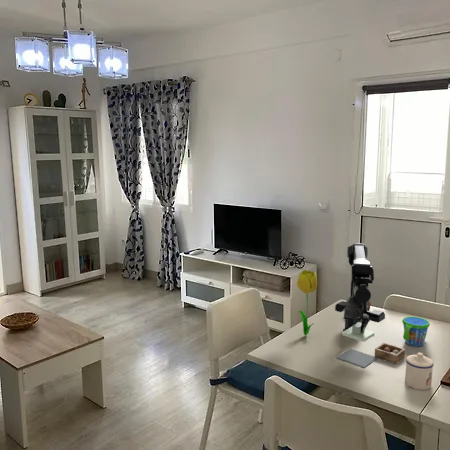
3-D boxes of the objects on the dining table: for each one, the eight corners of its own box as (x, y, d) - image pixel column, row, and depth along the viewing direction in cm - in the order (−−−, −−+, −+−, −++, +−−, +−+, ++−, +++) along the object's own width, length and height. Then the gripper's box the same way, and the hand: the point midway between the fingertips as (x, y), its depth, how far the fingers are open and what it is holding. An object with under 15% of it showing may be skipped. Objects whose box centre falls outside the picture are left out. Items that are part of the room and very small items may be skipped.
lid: (342, 335, 183) (342, 324, 182) (352, 328, 189) (353, 318, 188) (364, 341, 177) (364, 331, 176) (374, 335, 183) (374, 324, 182)
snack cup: (414, 334, 207) (416, 313, 205) (436, 343, 198) (438, 320, 196) (392, 343, 198) (393, 320, 197) (414, 352, 190) (415, 328, 188)
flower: (317, 334, 207) (320, 270, 202) (312, 341, 200) (314, 274, 195) (299, 331, 211) (301, 267, 206) (293, 337, 204) (295, 272, 199)
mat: (336, 358, 185) (336, 357, 185) (350, 349, 192) (350, 348, 192) (364, 367, 176) (364, 367, 176) (377, 358, 184) (377, 357, 184)
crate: (374, 356, 186) (374, 348, 185) (383, 350, 191) (383, 342, 191) (396, 364, 180) (396, 355, 179) (404, 357, 185) (405, 349, 185)
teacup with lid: (432, 392, 159) (434, 361, 157) (403, 387, 162) (406, 356, 160) (431, 376, 170) (433, 347, 168) (404, 372, 173) (407, 343, 171)
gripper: (328, 293, 180) (326, 331, 183) (373, 305, 168) (370, 345, 171) (342, 287, 188) (341, 323, 191) (386, 297, 176) (384, 336, 178)
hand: (358, 331), depth 183 cm, fingers closed on lid, 3 cm apart
